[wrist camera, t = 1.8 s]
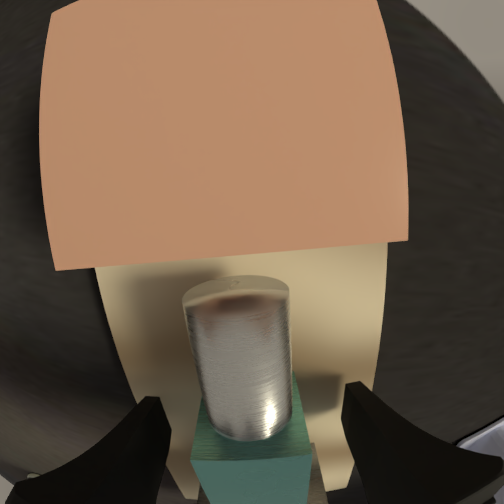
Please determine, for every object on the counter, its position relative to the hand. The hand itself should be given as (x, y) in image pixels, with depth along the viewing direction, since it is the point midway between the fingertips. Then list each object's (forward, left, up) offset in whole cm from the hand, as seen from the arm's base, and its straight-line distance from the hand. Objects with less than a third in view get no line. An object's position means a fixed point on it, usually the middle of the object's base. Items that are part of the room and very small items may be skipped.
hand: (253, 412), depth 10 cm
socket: (+10, 0, -1) cm, 10 cm away
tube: (-2, 0, 0) cm, 2 cm away
